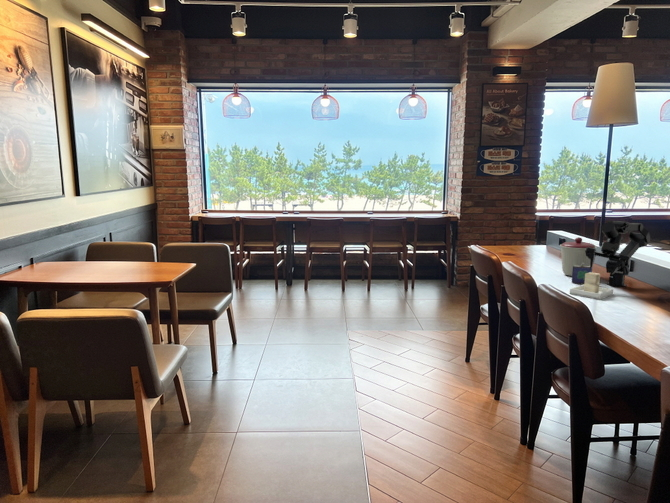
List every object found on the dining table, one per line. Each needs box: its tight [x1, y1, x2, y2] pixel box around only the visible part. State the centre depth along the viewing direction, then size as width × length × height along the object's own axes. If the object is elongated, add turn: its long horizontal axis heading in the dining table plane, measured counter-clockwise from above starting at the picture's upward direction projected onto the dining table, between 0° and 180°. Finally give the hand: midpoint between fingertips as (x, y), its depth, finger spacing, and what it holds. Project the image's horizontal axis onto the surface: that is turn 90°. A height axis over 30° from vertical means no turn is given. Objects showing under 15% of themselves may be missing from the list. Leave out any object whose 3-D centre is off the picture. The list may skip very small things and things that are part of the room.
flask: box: [571, 263, 593, 285], centre depth 240 cm, size 9×3×11 cm, turn 78°
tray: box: [569, 284, 614, 301], centre depth 219 cm, size 13×13×2 cm
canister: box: [559, 237, 598, 277], centre depth 258 cm, size 18×18×21 cm
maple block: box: [584, 272, 601, 293], centre depth 219 cm, size 5×5×9 cm
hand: (601, 271), depth 223 cm, fingers open, 9 cm apart
